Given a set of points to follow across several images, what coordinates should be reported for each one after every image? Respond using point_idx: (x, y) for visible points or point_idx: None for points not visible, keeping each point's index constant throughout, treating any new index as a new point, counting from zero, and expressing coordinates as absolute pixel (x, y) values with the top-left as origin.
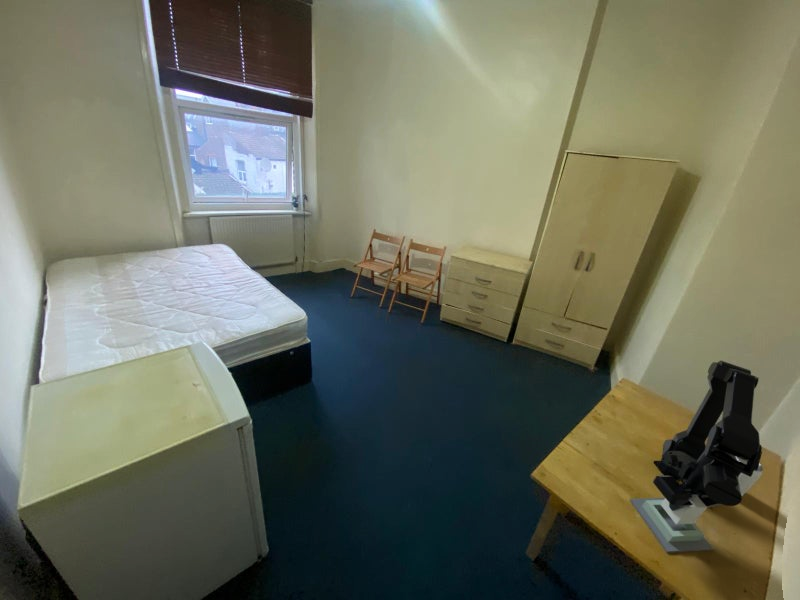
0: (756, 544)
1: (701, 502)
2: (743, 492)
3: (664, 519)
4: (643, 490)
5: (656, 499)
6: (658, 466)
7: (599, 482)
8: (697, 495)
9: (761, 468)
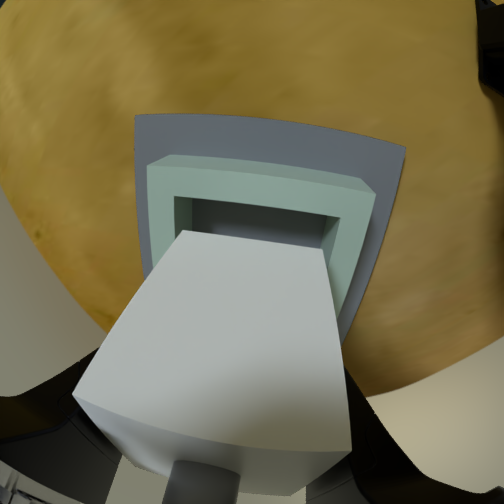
0: (479, 337)
1: (283, 490)
2: None
3: (238, 233)
4: (278, 65)
5: (300, 131)
6: (480, 15)
7: (72, 39)
8: (334, 470)
9: None
